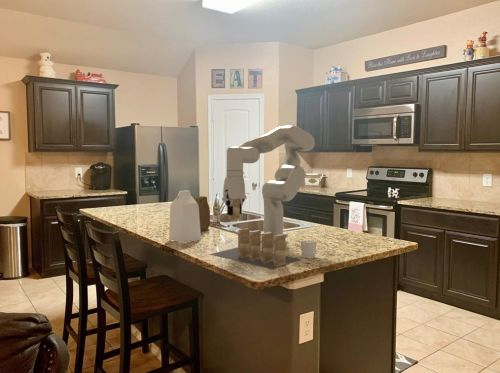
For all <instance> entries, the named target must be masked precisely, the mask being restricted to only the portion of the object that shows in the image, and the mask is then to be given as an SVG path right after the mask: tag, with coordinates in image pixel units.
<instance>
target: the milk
mask: <svg viewBox="0 0 500 373" xmlns="http://www.w3.org/2000/svg"><path fill="white" fill-rule="evenodd" d="M169 208H170V209H169V228H168V232H169V233H168V234H169V236H168V240H169V239H170V240H174V241H178V242H181V243H180V244H182V243H184V244H186V243H185V242H189V243H192V242H191V241H194V242H198V241H197V240H199V241H202V236H201V235H202V234H201V232H202V231H200V218H199V206H198V204H197V202H196V201H195V200H194V197H193V196H192V195H191V190H179V191H178V194H177V196H176V197H175V199H174V200H173V201H172V202H171V204H170V206H169Z"/></svg>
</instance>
